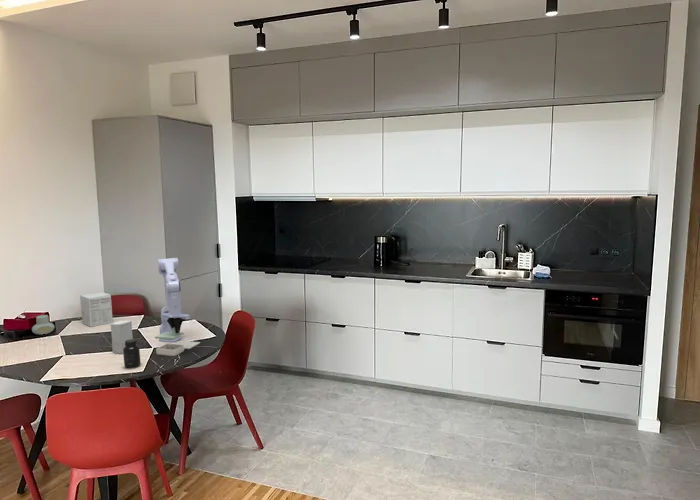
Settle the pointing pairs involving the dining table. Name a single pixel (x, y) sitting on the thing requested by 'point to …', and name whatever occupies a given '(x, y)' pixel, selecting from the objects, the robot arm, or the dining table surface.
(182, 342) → the mat
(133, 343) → the supplement bottle
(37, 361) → the dining table surface
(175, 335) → the lid
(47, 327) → the air freshener
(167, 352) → the tub
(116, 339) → the skincare box
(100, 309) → the supplement box
